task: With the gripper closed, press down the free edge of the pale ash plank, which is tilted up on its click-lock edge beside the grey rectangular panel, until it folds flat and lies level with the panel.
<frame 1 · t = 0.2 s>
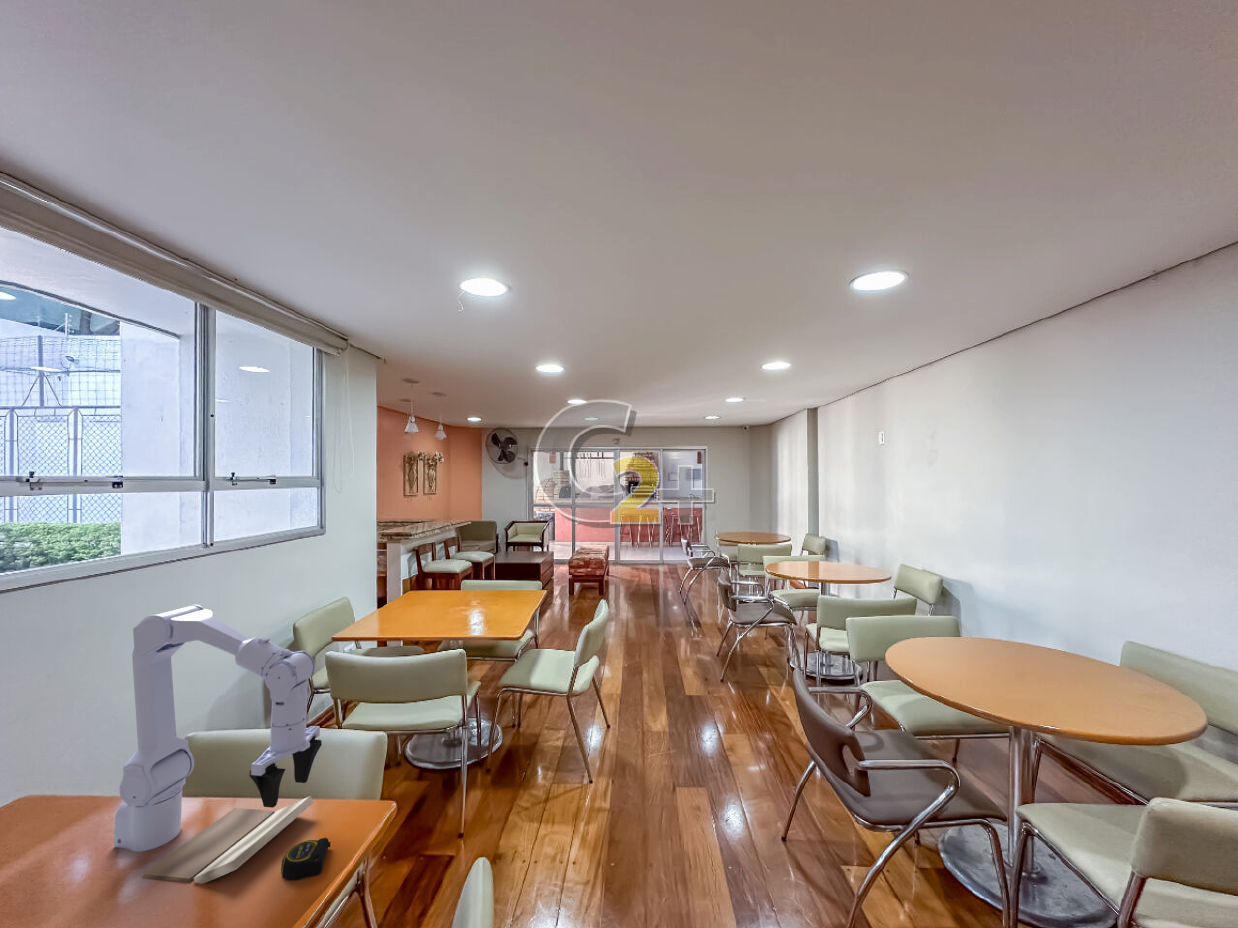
hand: (286, 793, 95), 10 cm above the table, fingers open, 7 cm apart
grey rectangular panel: (214, 847, 94), on the table
tape measure: (309, 871, 89), on the table
plank: (257, 837, 93), point 3 cm above the table, hinge at 25.0°
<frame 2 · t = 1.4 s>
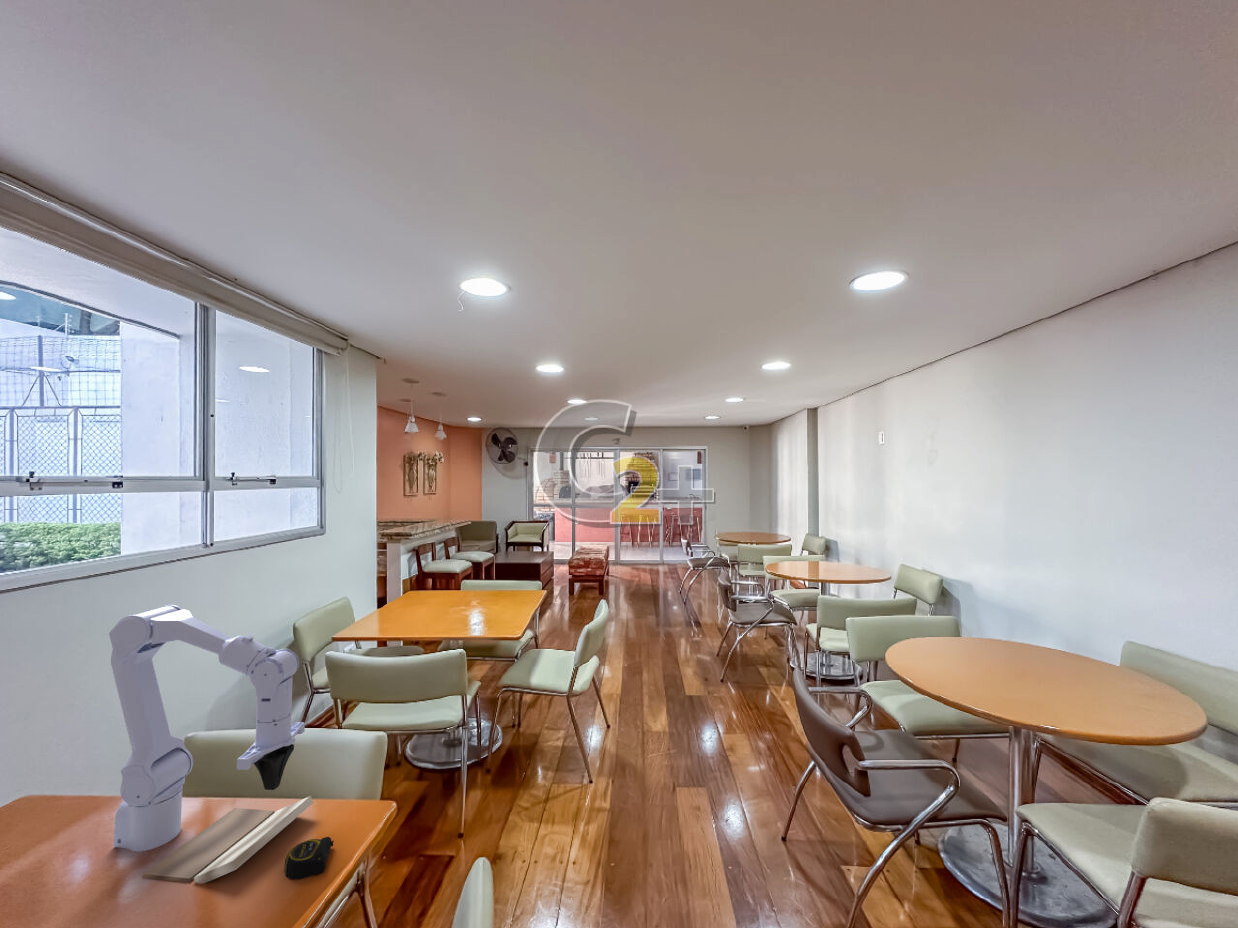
hand: (271, 787, 97), 9 cm above the table, fingers closed
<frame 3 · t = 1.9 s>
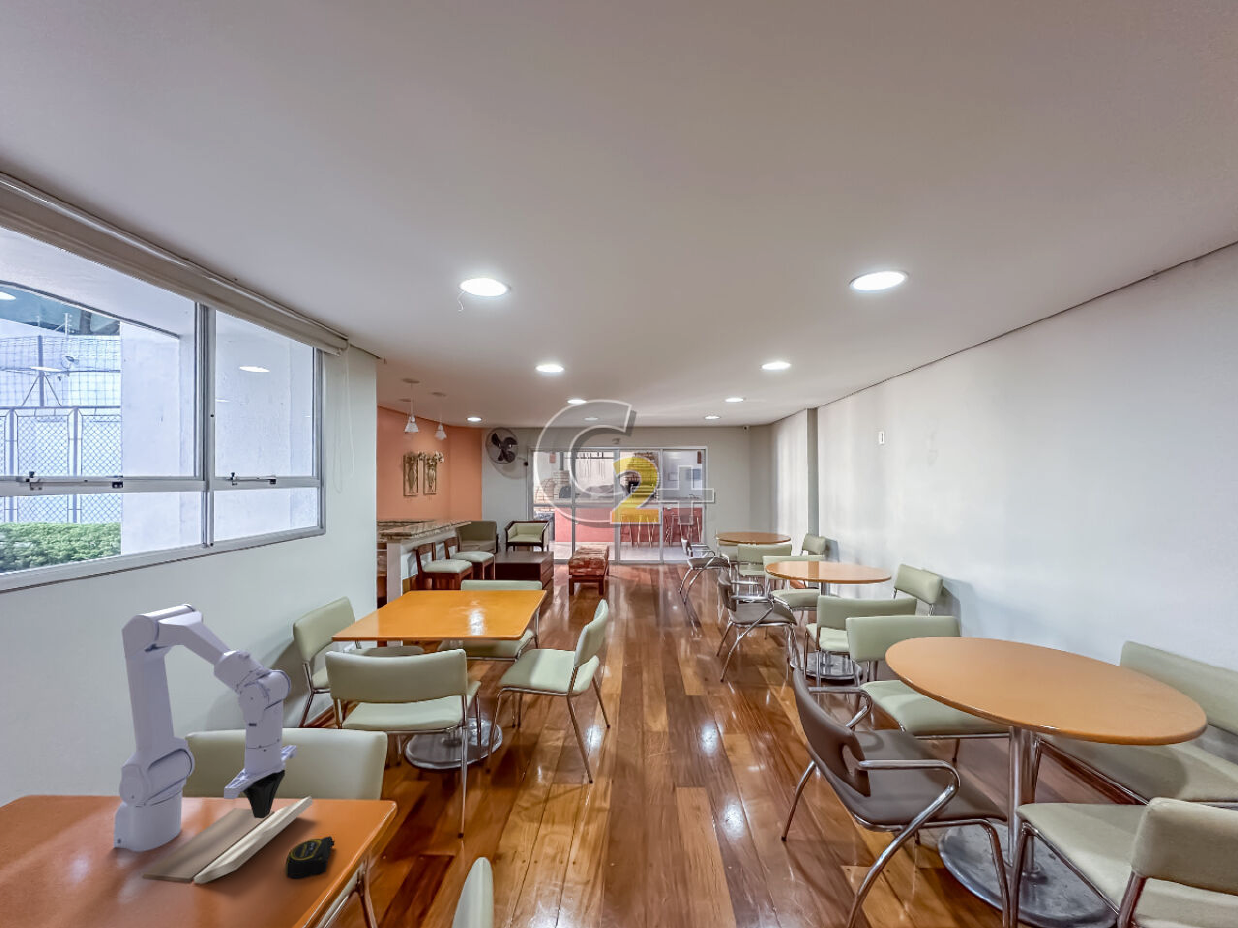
hand: (261, 815, 93), 7 cm above the table, fingers closed
nothing on the table moved.
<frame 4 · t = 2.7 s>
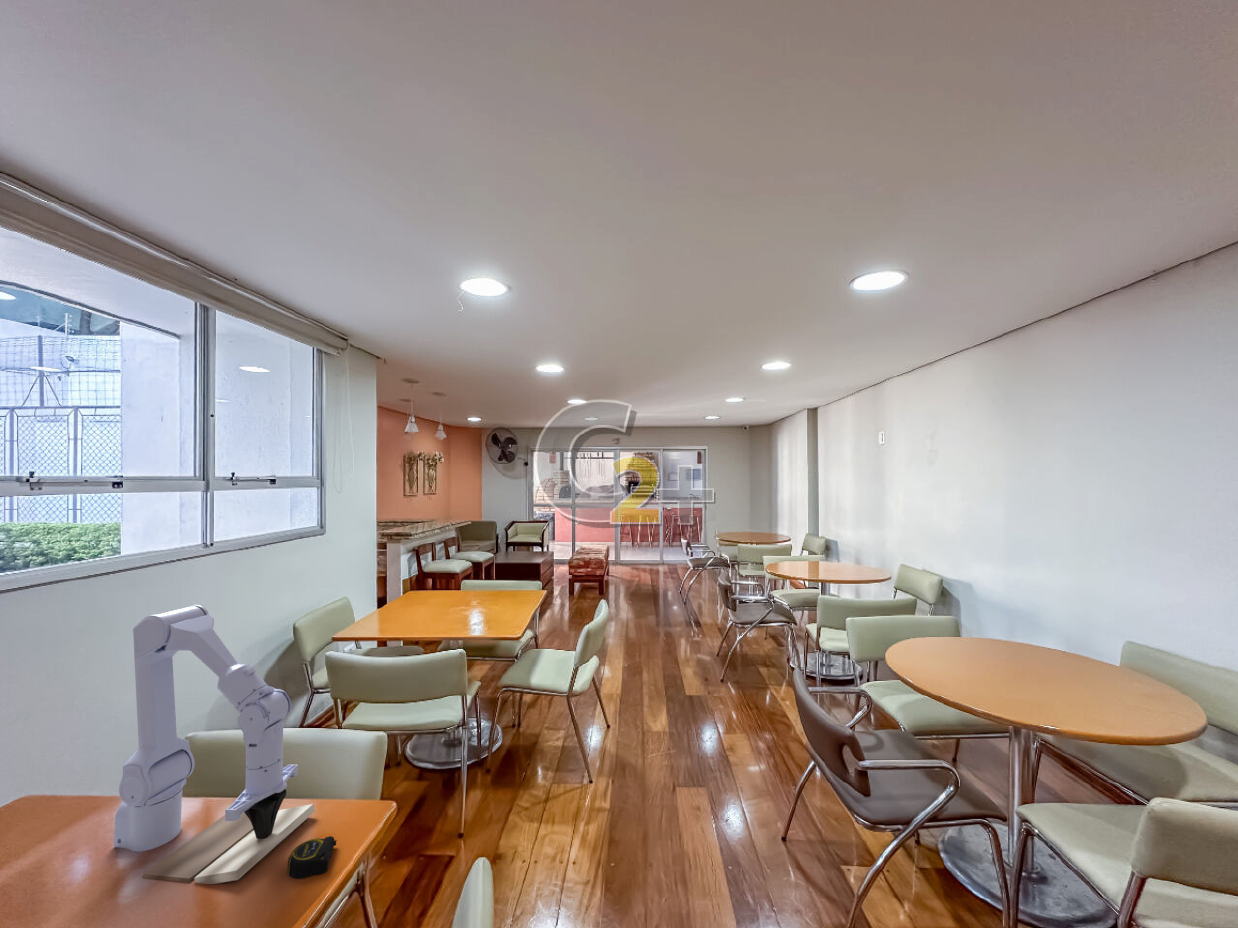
hand: (263, 836, 93), 3 cm above the table, fingers closed, pressing on plank
plank: (258, 841, 93), point 2 cm above the table, hinge at 12.9°, touching gripper
everything else where it was.
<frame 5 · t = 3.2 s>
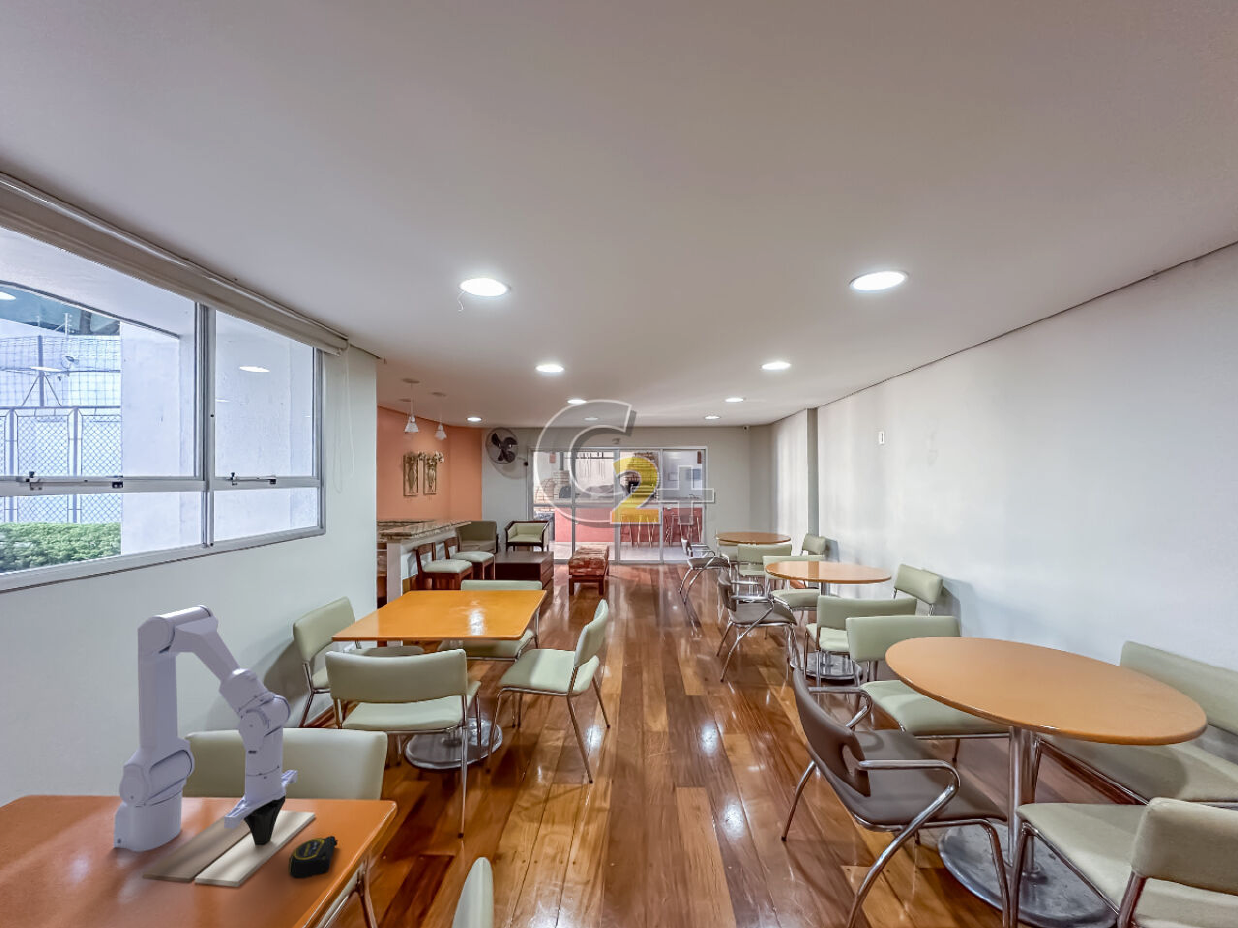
hand: (262, 842, 93), 2 cm above the table, fingers closed, pressing on plank
plank: (259, 846, 93), point 1 cm above the table, hinge at 0.3°, touching gripper
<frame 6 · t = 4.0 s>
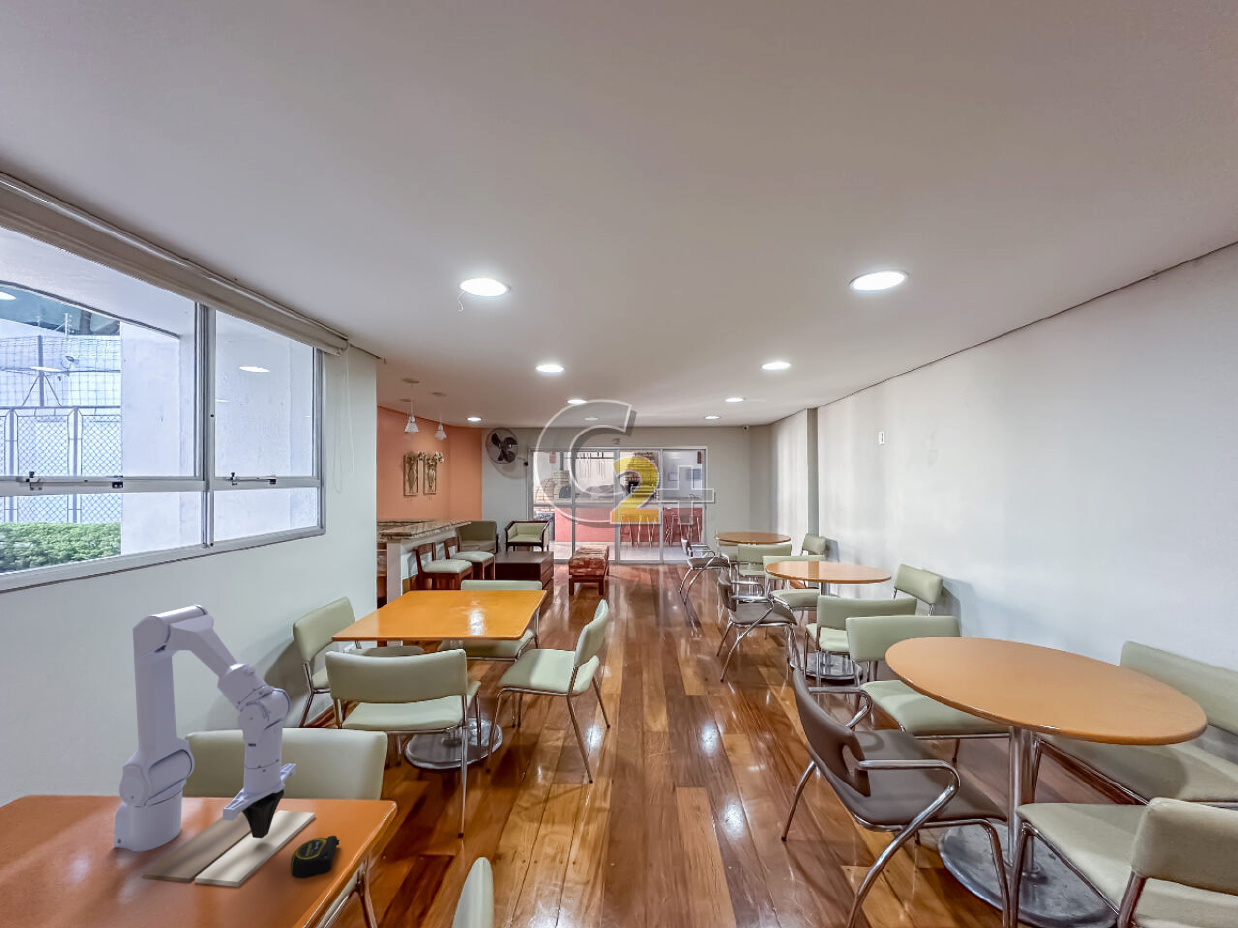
hand: (260, 835, 93), 3 cm above the table, fingers closed
plank: (259, 846, 93), point 1 cm above the table, hinge at -0.1°
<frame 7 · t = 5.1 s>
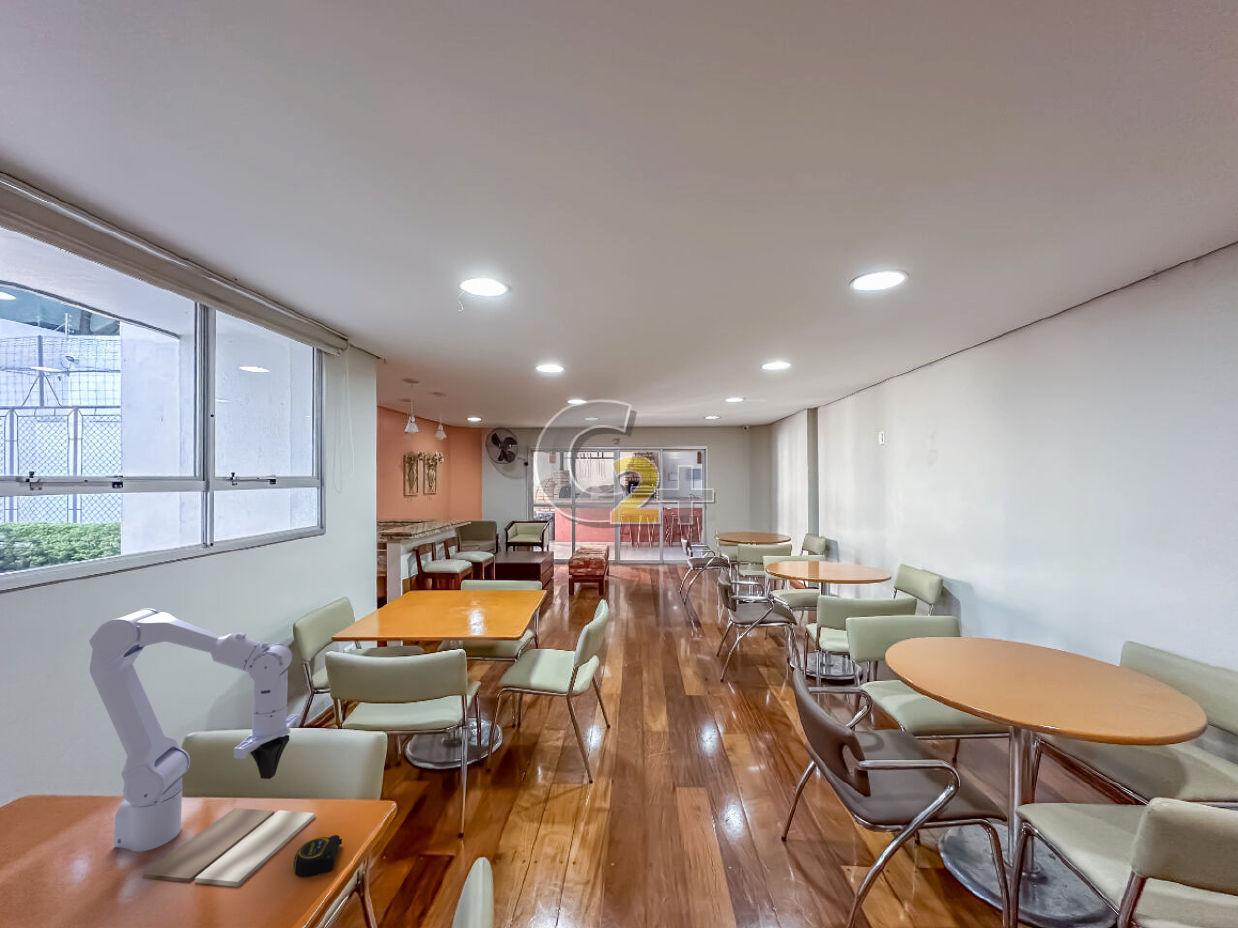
hand: (267, 776, 101), 9 cm above the table, fingers closed
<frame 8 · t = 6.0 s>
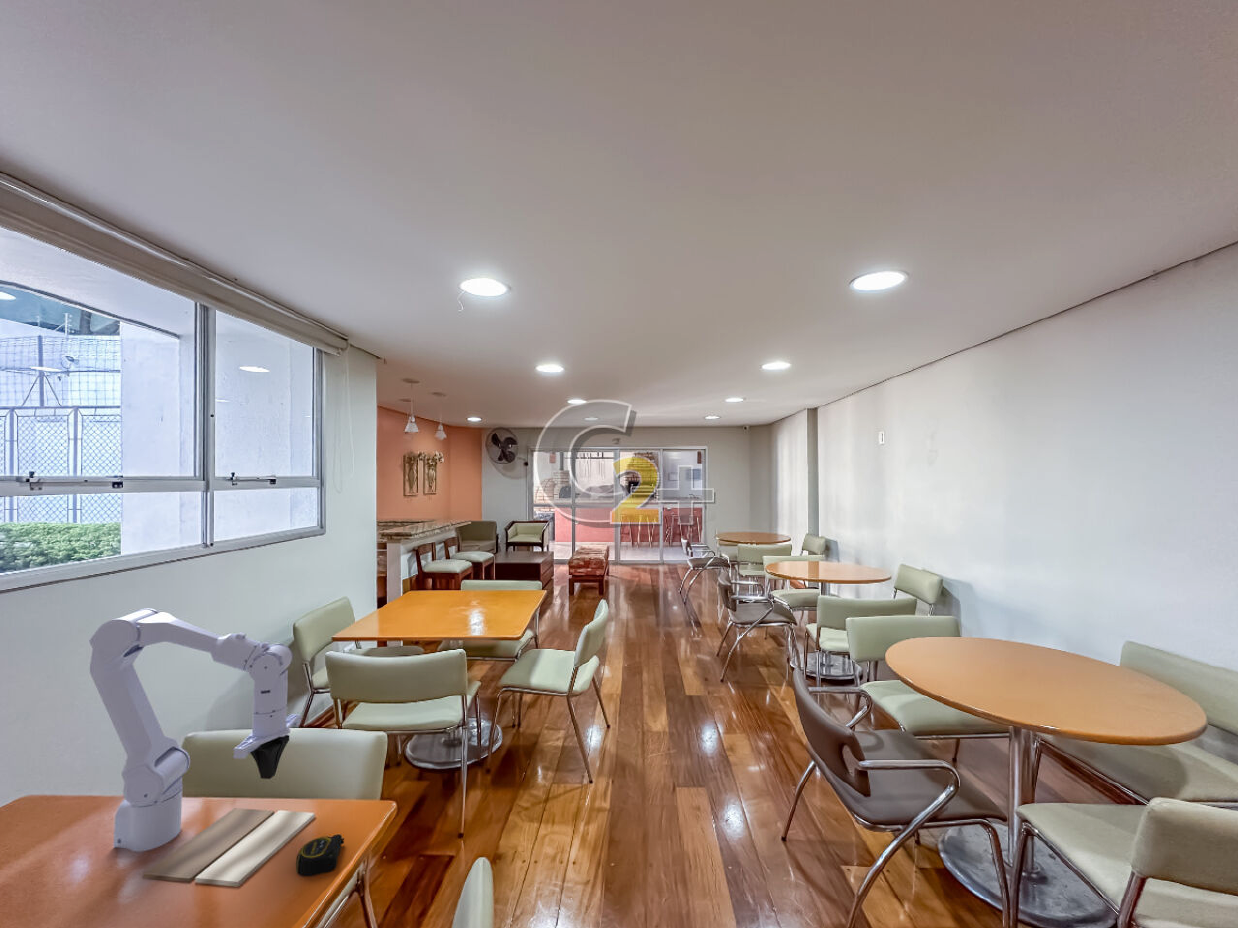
hand: (267, 776, 101), 9 cm above the table, fingers closed
at the end: plank at +0° (first picture: +25°); tape measure moved 2.5 cm from its start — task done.
